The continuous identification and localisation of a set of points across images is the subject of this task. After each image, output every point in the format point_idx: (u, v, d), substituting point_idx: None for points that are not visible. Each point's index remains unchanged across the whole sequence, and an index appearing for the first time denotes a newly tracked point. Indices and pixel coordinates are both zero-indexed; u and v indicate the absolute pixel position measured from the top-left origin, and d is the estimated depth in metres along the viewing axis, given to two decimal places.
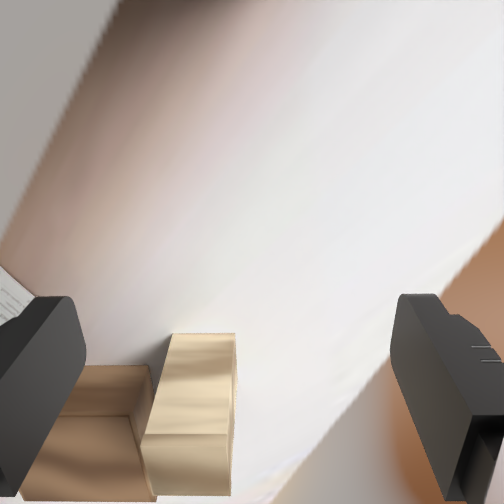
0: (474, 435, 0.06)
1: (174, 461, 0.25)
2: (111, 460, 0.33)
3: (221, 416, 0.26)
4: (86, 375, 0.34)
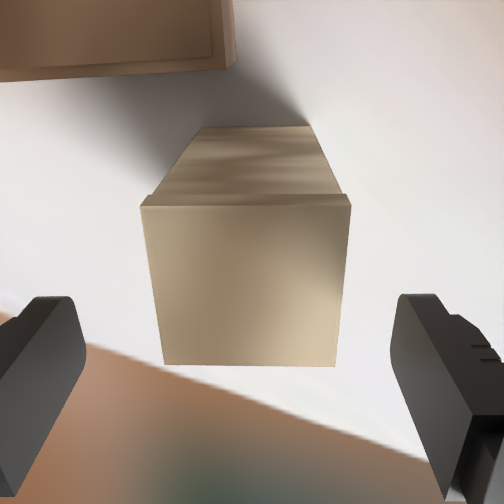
0: (474, 435, 0.06)
1: (288, 273, 0.11)
2: None
3: None
4: None
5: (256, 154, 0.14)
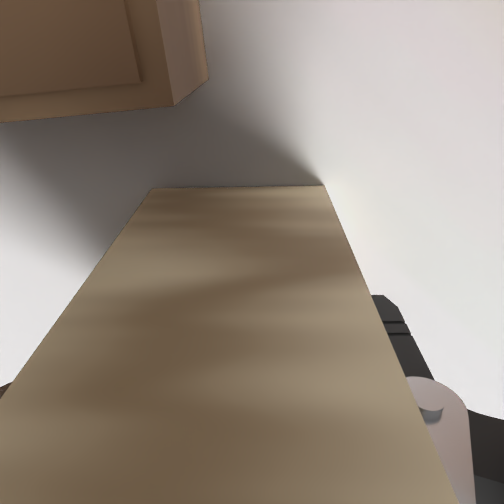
0: None
1: None
2: None
3: None
4: None
5: (232, 276, 0.07)
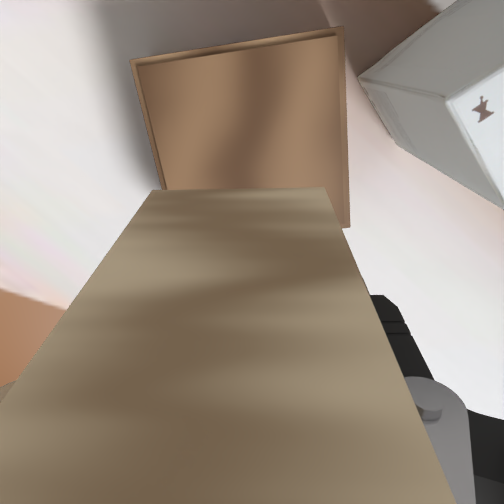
0: None
1: None
2: None
3: None
4: None
5: (232, 278, 0.07)
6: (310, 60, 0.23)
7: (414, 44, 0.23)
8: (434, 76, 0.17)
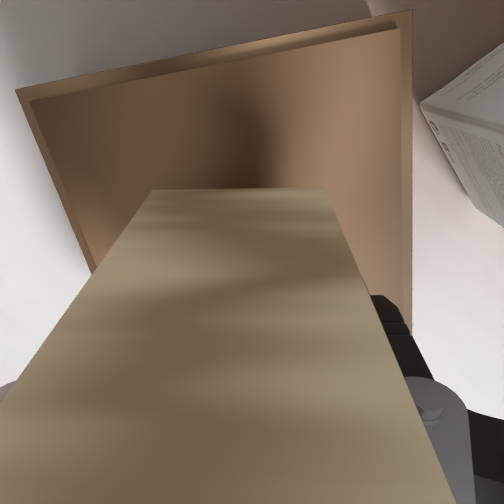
0: None
1: None
2: None
3: None
4: None
5: (232, 278, 0.07)
6: (347, 77, 0.12)
7: None
8: None
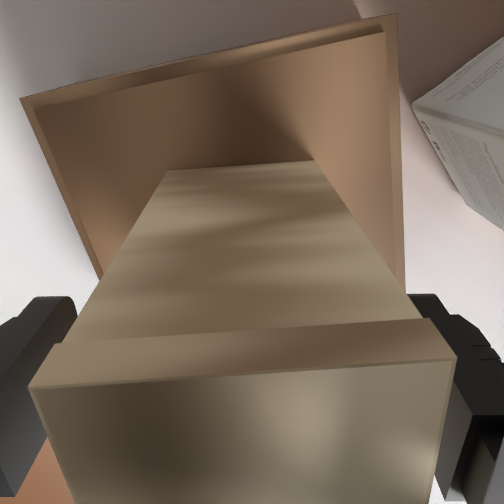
0: (474, 435, 0.06)
1: (331, 471, 0.06)
2: None
3: None
4: None
5: (248, 219, 0.09)
6: (337, 79, 0.13)
7: None
8: None
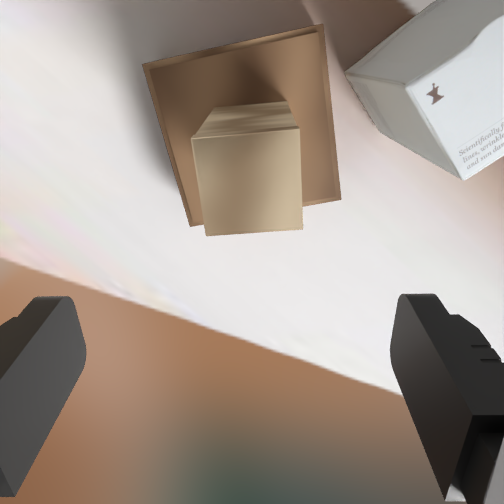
0: (474, 435, 0.06)
1: (271, 171, 0.20)
2: None
3: None
4: None
5: (250, 116, 0.24)
6: (296, 54, 0.27)
7: (391, 43, 0.27)
8: (401, 69, 0.21)
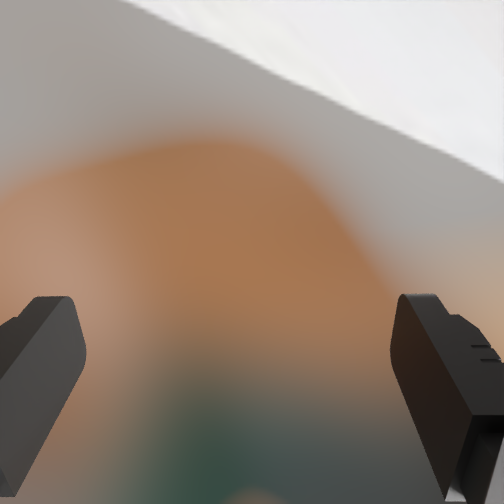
0: (474, 435, 0.06)
1: None
2: None
3: None
4: None
5: None
6: None
7: None
8: None
